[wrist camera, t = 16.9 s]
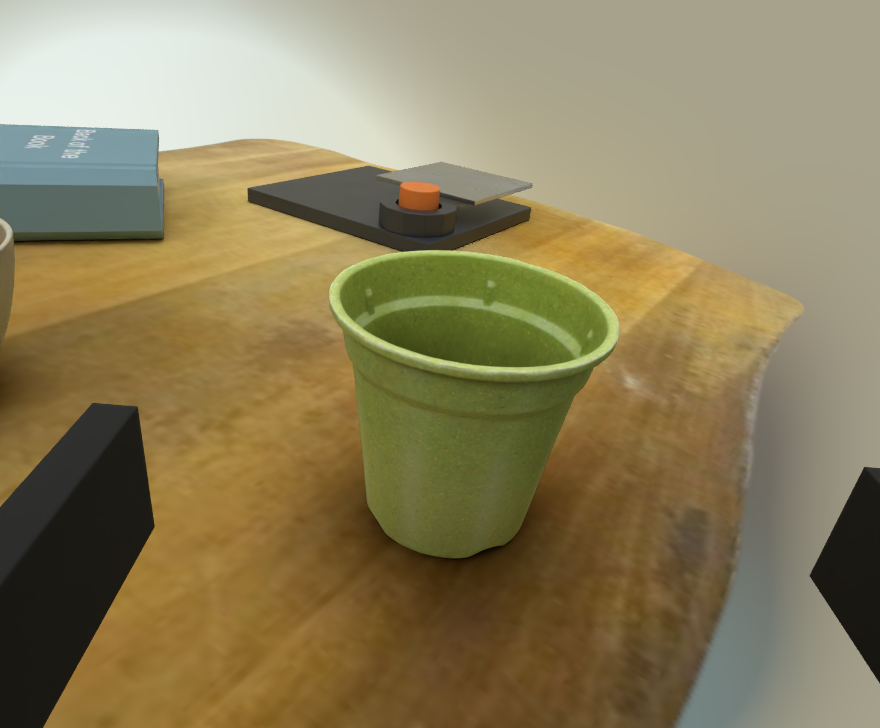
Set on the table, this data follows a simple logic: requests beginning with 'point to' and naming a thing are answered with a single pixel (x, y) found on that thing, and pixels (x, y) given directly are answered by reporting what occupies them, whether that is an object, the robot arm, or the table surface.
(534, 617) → the table surface
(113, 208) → the book
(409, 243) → the scale
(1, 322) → the flower pot
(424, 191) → the button
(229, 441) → the table surface
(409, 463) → the plant pot
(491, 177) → the plate
